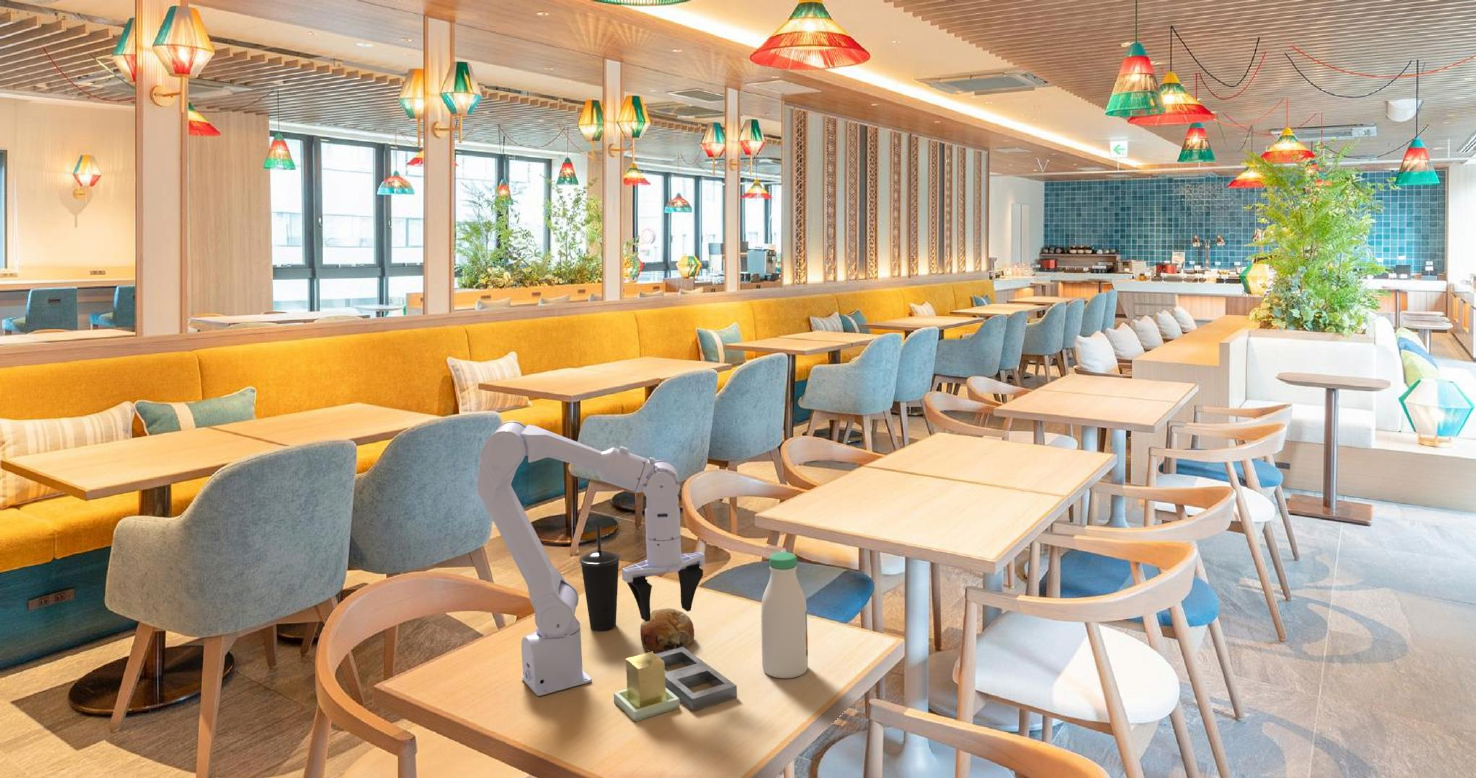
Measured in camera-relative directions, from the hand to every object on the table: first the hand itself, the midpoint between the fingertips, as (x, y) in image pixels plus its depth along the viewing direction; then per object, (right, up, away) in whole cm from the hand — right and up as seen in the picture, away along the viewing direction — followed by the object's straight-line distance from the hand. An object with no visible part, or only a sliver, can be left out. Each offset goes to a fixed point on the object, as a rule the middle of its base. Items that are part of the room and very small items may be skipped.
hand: (666, 614), depth 159 cm
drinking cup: (-14, -8, +22) cm, 27 cm away
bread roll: (-1, -9, +14) cm, 17 cm away
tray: (-2, -12, -9) cm, 15 cm away
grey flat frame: (+4, -11, -2) cm, 12 cm away
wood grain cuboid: (-2, -12, -9) cm, 15 cm away
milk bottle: (+20, -10, +2) cm, 22 cm away
